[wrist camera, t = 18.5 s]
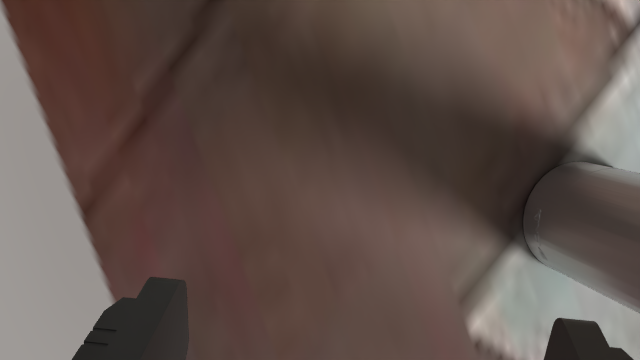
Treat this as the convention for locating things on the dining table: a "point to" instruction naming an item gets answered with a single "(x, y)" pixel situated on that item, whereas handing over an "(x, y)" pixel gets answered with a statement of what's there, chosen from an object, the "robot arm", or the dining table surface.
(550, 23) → the dining table surface
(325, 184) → the dining table surface
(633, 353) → the dining table surface
